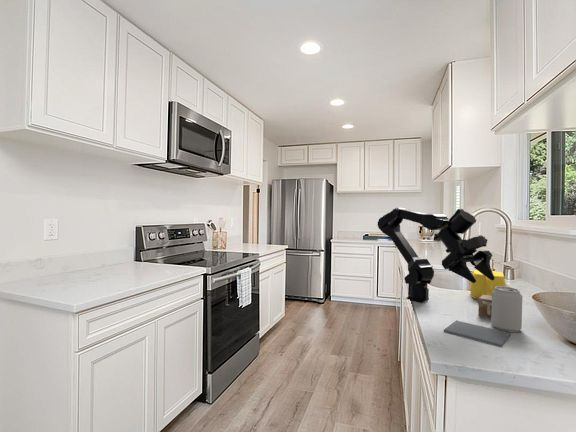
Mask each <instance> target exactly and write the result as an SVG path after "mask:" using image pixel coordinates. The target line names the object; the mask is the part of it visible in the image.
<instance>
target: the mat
mask: <svg viewBox="0 0 576 432" xmlns="http://www.w3.org/2000/svg"><path fill="white" fill-rule="evenodd" d="M443 332H445V333H448V334H452V335H456V336H459V337H463V338H467V339H470V340H475V341H478V342H481V343H486V344H488V345H492V346H497V347H500V348H501V347H503V345H504V344H505V342H506V341H507V340H508V339H509V337H510V336H511V332H507V331H502V330H499V329H496V328H491V327H486V326H482V325H477V324H474V323H470V322H466V321H460V320H456V319H455V321H454V322H452V323H450V324H449V325H448V326H447V327H445V328H444V329H443Z"/></svg>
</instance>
